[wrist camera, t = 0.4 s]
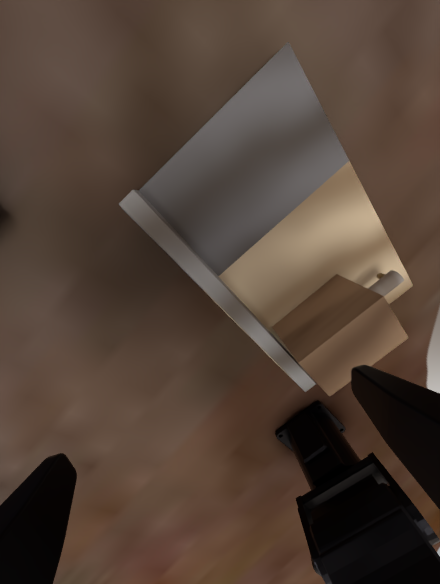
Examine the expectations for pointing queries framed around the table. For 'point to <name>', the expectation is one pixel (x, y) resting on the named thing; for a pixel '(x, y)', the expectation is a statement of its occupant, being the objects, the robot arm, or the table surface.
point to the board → (266, 208)
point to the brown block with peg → (342, 329)
